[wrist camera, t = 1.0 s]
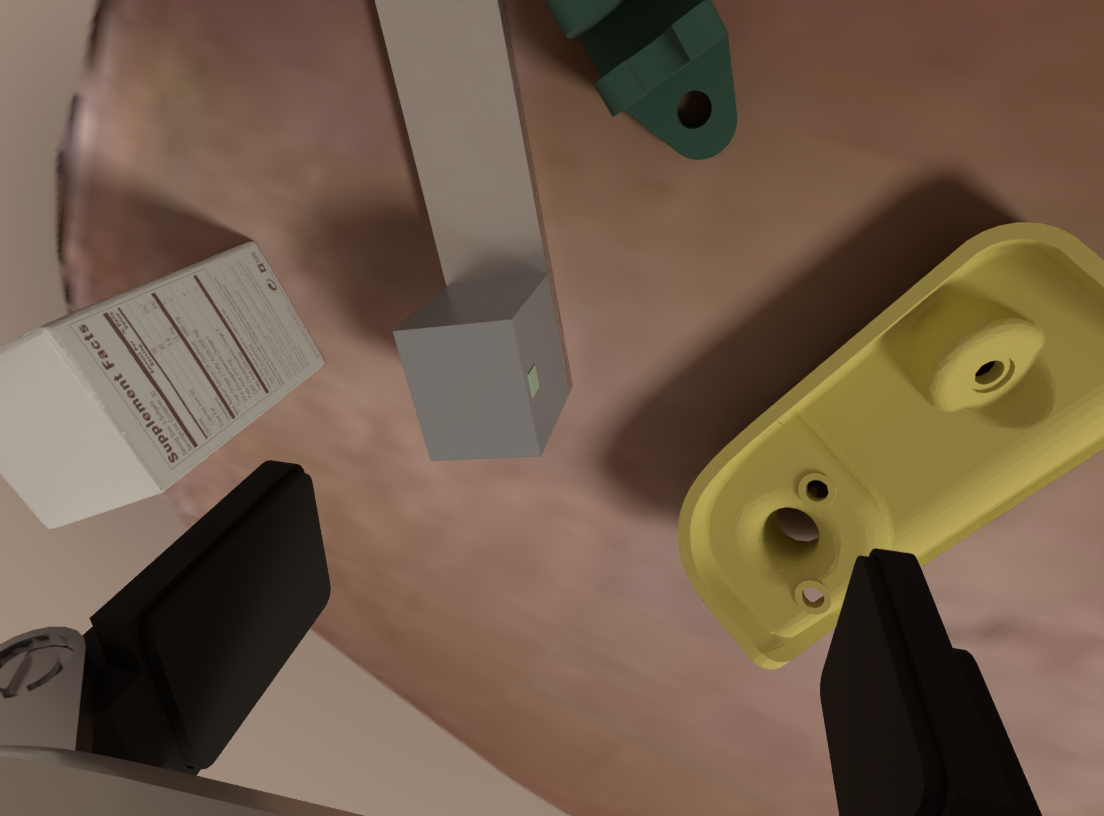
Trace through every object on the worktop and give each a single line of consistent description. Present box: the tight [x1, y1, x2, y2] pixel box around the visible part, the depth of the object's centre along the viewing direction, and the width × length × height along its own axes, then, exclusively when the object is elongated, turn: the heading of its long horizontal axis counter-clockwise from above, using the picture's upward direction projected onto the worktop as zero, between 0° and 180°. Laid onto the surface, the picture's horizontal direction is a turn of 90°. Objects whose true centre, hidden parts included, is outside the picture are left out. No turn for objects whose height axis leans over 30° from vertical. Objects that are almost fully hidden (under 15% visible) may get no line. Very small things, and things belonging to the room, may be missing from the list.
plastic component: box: [678, 222, 1104, 670], centre depth 30 cm, size 20×7×10 cm
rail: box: [375, 0, 573, 393], centre depth 28 cm, size 5×26×1 cm, turn 10°
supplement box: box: [0, 241, 324, 529], centre depth 31 cm, size 7×7×13 cm
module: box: [393, 274, 569, 461], centre depth 30 cm, size 5×6×6 cm
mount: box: [546, 0, 737, 160], centre depth 24 cm, size 11×4×5 cm, turn 35°
